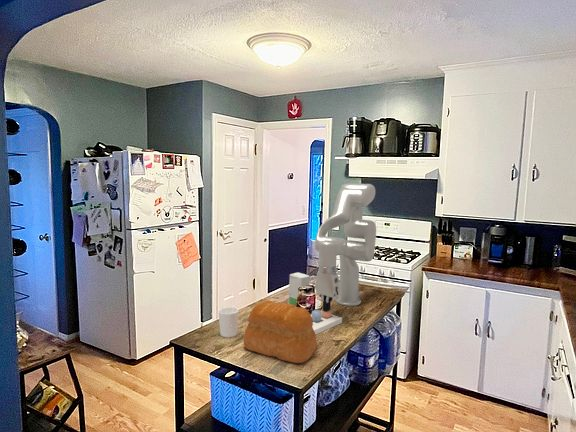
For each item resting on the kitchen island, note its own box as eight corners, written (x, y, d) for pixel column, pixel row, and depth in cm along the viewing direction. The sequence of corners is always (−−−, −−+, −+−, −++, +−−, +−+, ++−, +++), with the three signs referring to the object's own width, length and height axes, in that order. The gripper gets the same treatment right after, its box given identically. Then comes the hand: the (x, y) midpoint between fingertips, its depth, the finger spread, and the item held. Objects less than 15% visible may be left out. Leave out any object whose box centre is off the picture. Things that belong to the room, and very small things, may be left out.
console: (320, 318, 175) (320, 310, 175) (342, 325, 167) (342, 318, 166) (289, 330, 161) (289, 322, 161) (311, 340, 153) (311, 331, 152)
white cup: (230, 328, 163) (230, 305, 162) (242, 334, 157) (242, 310, 156) (215, 334, 157) (214, 310, 156) (226, 340, 152) (226, 315, 151)
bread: (301, 368, 131) (302, 319, 129) (239, 349, 144) (239, 305, 142) (321, 349, 145) (322, 305, 143) (262, 334, 158) (262, 293, 156)
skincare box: (288, 305, 192) (288, 274, 190) (296, 301, 197) (297, 271, 195) (300, 309, 186) (301, 277, 184) (309, 305, 191) (310, 275, 189)
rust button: (325, 317, 171) (325, 308, 171) (332, 320, 168) (332, 311, 168) (319, 320, 168) (319, 311, 168) (326, 322, 166) (327, 313, 165)
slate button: (315, 318, 166) (316, 309, 166) (323, 321, 164) (323, 312, 163) (309, 321, 164) (309, 311, 163) (316, 323, 161) (317, 314, 160)
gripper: (346, 270, 163) (345, 312, 166) (319, 264, 174) (318, 303, 176) (335, 274, 158) (335, 317, 160) (308, 267, 168) (307, 308, 171)
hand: (326, 310), depth 168 cm, fingers closed
